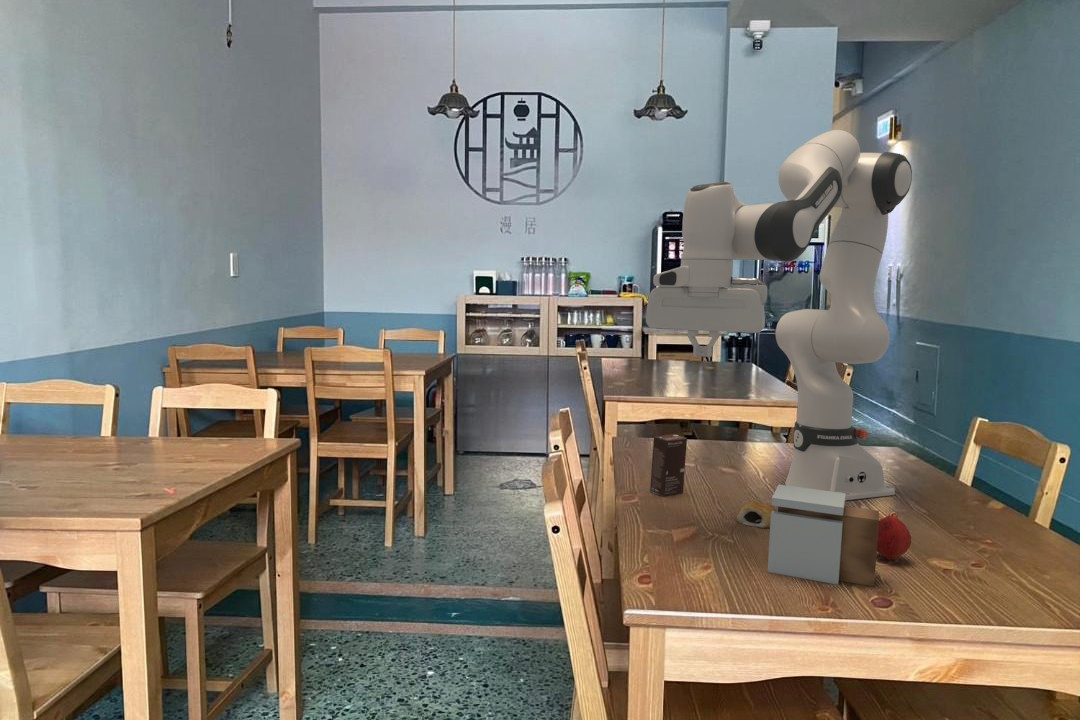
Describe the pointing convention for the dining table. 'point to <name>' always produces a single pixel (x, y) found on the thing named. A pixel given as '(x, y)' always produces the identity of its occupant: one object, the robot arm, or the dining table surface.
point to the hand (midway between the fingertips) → (702, 356)
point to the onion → (892, 537)
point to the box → (668, 464)
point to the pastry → (756, 515)
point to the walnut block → (853, 542)
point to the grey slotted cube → (806, 534)
